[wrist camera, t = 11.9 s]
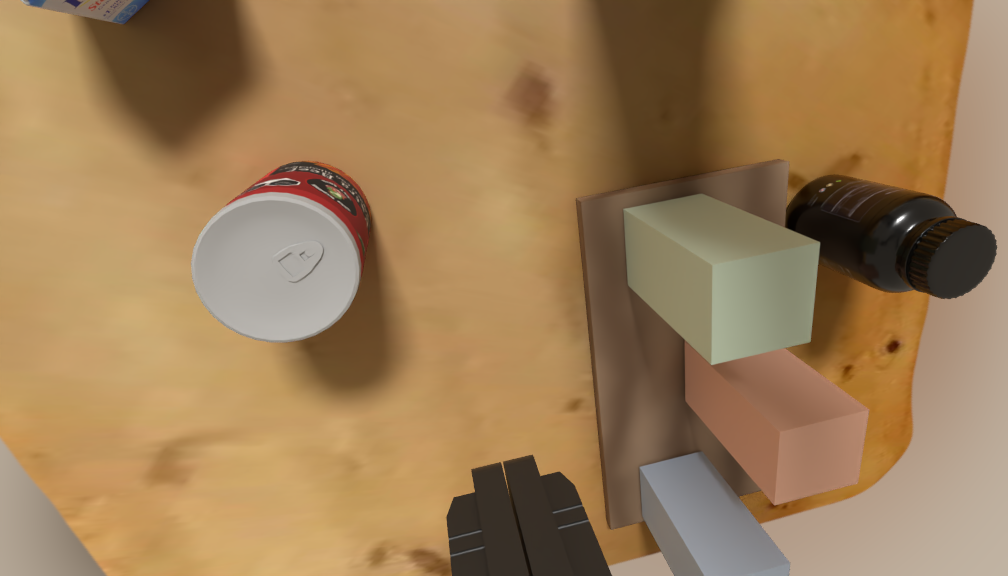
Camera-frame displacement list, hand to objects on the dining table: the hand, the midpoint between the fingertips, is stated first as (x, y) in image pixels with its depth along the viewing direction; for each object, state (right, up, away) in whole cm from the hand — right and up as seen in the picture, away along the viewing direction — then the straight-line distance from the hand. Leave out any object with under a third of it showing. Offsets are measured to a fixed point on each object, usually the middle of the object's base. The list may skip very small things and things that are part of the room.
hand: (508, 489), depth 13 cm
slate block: (+15, -13, +36) cm, 42 cm away
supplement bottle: (+25, +11, +30) cm, 41 cm away
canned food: (-13, +10, +23) cm, 28 cm away
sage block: (+12, +8, +27) cm, 30 cm away
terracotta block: (+18, -2, +32) cm, 37 cm away
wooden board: (+15, -2, +33) cm, 37 cm away
